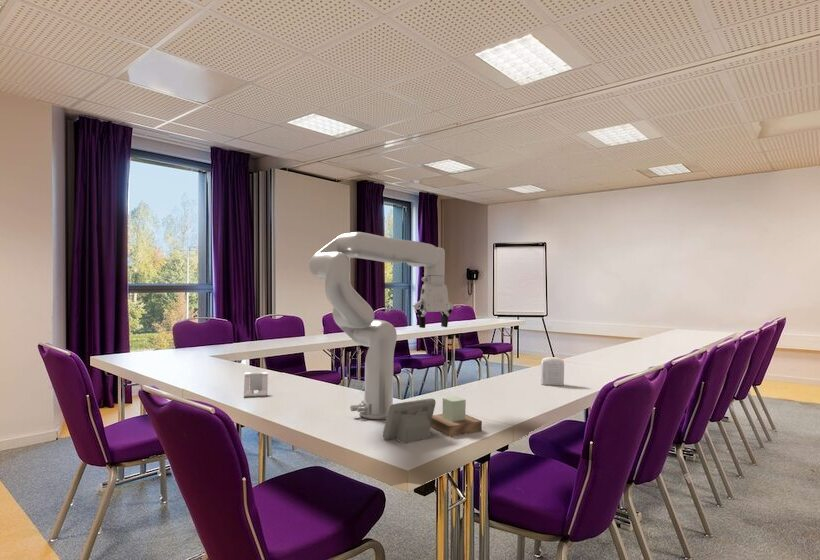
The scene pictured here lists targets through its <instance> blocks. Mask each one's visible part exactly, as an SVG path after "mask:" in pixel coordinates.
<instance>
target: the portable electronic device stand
mask: <svg viewBox="0 0 820 560" xmlns="http://www.w3.org/2000/svg"><path fill="white" fill-rule="evenodd" d="M268 376H269V372H267V371H265V372H262V371H261V372H244V378H243V379H244V382H243V383H244V384H243V398H252V397H253V398H254V397H255V398H256V397H268V383H269V382H268V380H269V377H268ZM254 391H258V392H254Z"/></svg>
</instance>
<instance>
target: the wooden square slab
mask: <svg viewBox="0 0 820 560" xmlns="http://www.w3.org/2000/svg"><path fill="white" fill-rule="evenodd" d="M442 417H443V413H440V414H433V416H432V419H431V423H430V429H433V430H435V432H436V431H437V432H439V433H441V434H443V435H445V436H447V437H449V436H450V437H454V436H453V435H456V436H460V435H459V434H462V435H466V434H465V433H467V434H472V433H471V432H473V433H477V432H476V431H479V432H482V429H483V421H482V420H480V419H478V418H475V417H473V416H471V415H469V414H468V415H467V414H466V413H465V420H459V421H453V422H451V421H449V420H447V419H445V418H442Z"/></svg>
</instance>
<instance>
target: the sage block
mask: <svg viewBox="0 0 820 560" xmlns="http://www.w3.org/2000/svg"><path fill="white" fill-rule="evenodd" d="M466 402H467V401H466V399H464V398H461V397H458V396H457V395H456V396H449V397H448V396H447V397H443V398H442V414H443V417H442V418H445V419H447V420H449V421H451V422H453V421H459V420H465V414H466Z"/></svg>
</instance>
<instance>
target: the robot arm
mask: <svg viewBox="0 0 820 560" xmlns="http://www.w3.org/2000/svg"><path fill="white" fill-rule="evenodd" d="M350 259H363V260H370V261H376V262H381V263H390V264H399V263H401V264H402V263H405V264H407V266H410V267H413V268H414V267H417V268H418V267H423V271H424V272H423V275H424V276H423V277H421V281H422V282H423V284H422V286H421V291H420V296H419V297H420V298H419V300H418V301H416V302H415V303H413V304H412V307H413V310H414V313H415V314H416V315H417V317H418V327H419V328H421V329H425V328H426V317H425V315H426V314H427V313H428V312H429V313H430V312H431V313H436V312H437V313H438V312H440V313H441V319H440V320H441V322H440V323H441V325H440V326H441V327H442V328H448V325H449V316H450V314H451V313H452V312H453V309H454V307H455V304H453V303H452V302H451V301H449V290H448V287H447V284H445V269H446V267H445V265H446V260H445V259H446V251H445V249H444V248H443V247H438V246H436V245H433V244H432V243H427V242H426V243H425V242H422V241H415V240H408V239H400V238H396V237H395V238H394V237H393V238H392V237H389V236H388V237H387V236H384V235H382V236H381V235H378V234H373V233H368V232H362V231H353V232H346V233H341V234H340V235H338V236H337V237H336V238H334V239H333V240H331V241H330V242H329V243H327V244H326V245H325V246H323V247H322V248H320V249H319V250H318V251H316V253H314V254H313V256H312V257H311V258H310V260H309V264H308V267H309V268H308V269H309V272H310V273H311V274H312V275H313V276H314V277H316V278H318V279H324V288H325V289H324V290H325V295H326V298H327V300H328V302H329V303H330V304H331V305H332V306H333V308H332V312H331V313H332V318H333V321H334V323H335V324H336V325H337V326H338V327H339V328H340V330H341V331H343V332H344V333H345V334H346V335H347V336H348V337H349V338H350V339H351V340H353V342H354V343H356V344H357V345H359V346H363V347H368V350H367V352H366V355H365V361H364V397H363V398H364V400H361V403H359V404H351V405H350V406H349V407H350V408H349V409H350V411H351V412H357V413H359V416H361V417H362V418H365V419H369V420H370V419H371V420H386V419H387V415H388V410H389V407H390V405H392V404H394V401H393V400H394V399H393V397H394V358H395V357H394V356H395V348H396V344H397V339H398V338H397V337H398V335H397V329H396V328H395V326H394V325H393V324H392V323H391V322H388V321H386V320H384V319H383V320H381V319H375V313H374V309H373V308H372V306H371V305H370V304H369V303H368V302H367V301H366V300H365V299H364V298H363V297H362V296H361V295H360V294H359V293H358V292H357V291H356V289H354V287H353V286H352V284H351V280H350V276H351V275H350V274H351V261H350Z"/></svg>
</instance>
